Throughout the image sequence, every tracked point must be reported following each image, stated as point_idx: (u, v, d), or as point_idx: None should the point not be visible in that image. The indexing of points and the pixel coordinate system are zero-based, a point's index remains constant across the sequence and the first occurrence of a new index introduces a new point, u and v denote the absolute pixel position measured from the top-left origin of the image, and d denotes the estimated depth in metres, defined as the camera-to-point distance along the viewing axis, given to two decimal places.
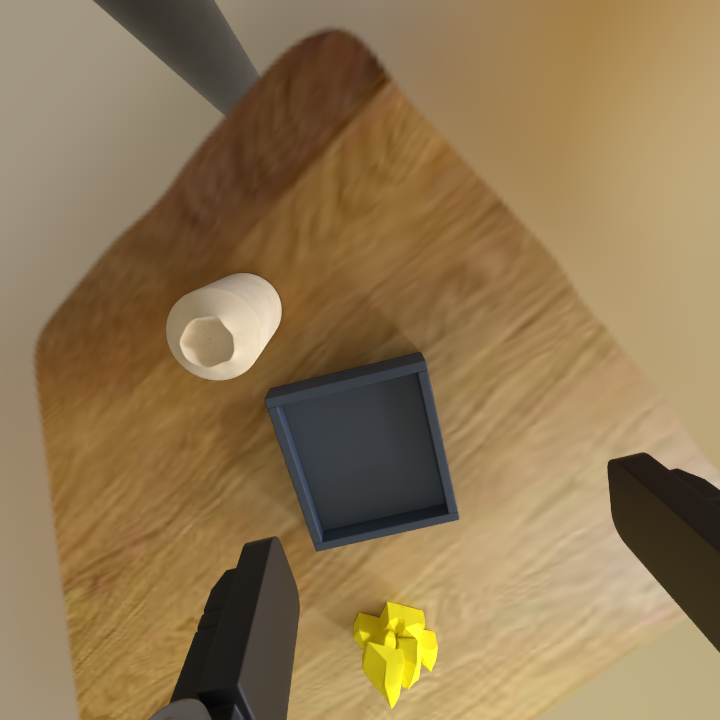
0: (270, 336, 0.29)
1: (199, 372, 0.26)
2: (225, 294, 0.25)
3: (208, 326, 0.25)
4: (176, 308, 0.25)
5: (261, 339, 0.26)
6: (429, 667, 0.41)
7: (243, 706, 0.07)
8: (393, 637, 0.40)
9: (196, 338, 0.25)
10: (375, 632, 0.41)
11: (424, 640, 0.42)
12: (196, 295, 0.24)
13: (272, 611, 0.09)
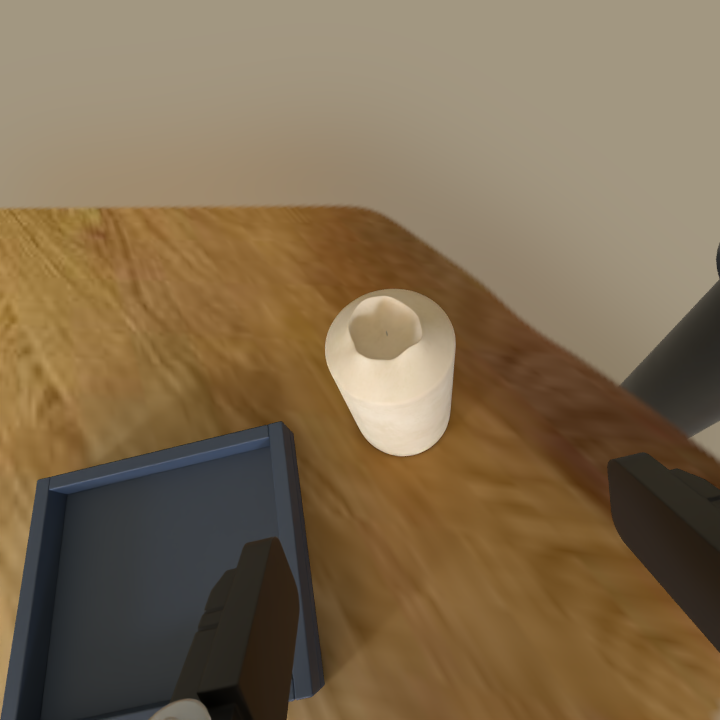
0: (373, 428, 0.21)
1: (339, 319, 0.19)
2: (447, 359, 0.18)
3: (404, 332, 0.18)
4: (428, 300, 0.19)
5: (381, 403, 0.17)
6: None
7: (243, 706, 0.07)
8: None
9: (388, 317, 0.18)
10: None
11: None
12: (445, 323, 0.18)
13: (272, 611, 0.09)
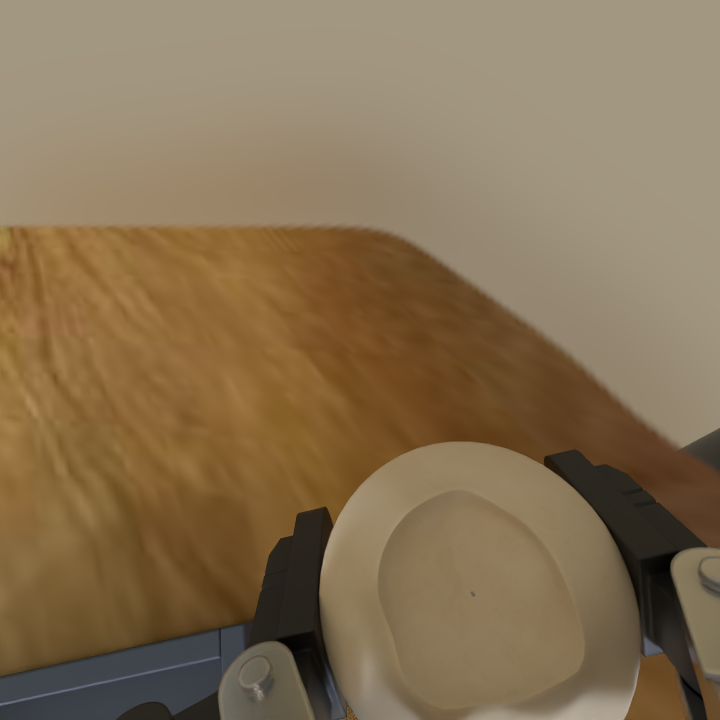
0: None
1: (353, 531, 0.08)
2: (632, 668, 0.07)
3: (515, 589, 0.07)
4: (557, 483, 0.08)
5: None
6: None
7: (317, 651, 0.08)
8: None
9: (470, 539, 0.08)
10: None
11: None
12: (612, 557, 0.07)
13: None
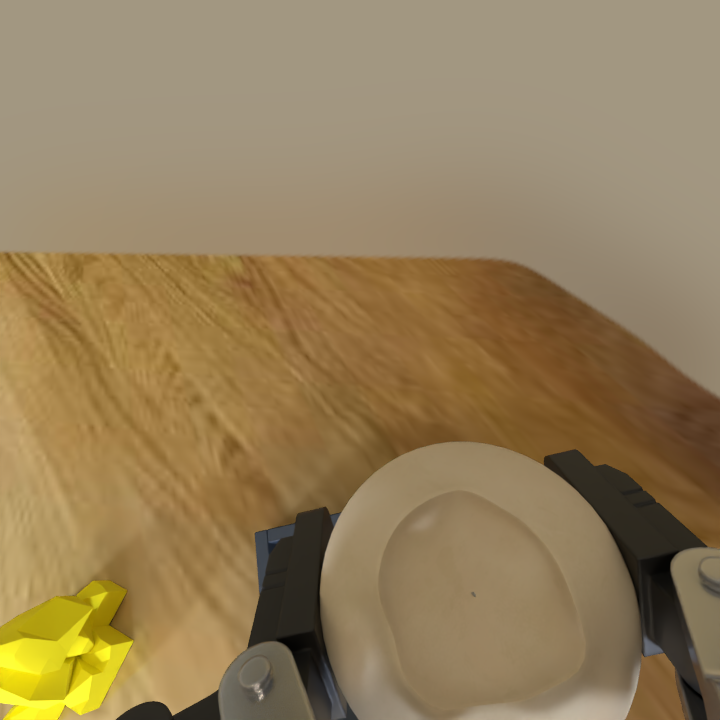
0: None
1: (354, 531, 0.08)
2: (632, 669, 0.07)
3: (515, 589, 0.07)
4: (557, 483, 0.08)
5: None
6: None
7: (317, 651, 0.08)
8: (82, 652, 0.25)
9: (471, 540, 0.08)
10: (94, 618, 0.27)
11: (49, 710, 0.26)
12: (613, 558, 0.07)
13: None
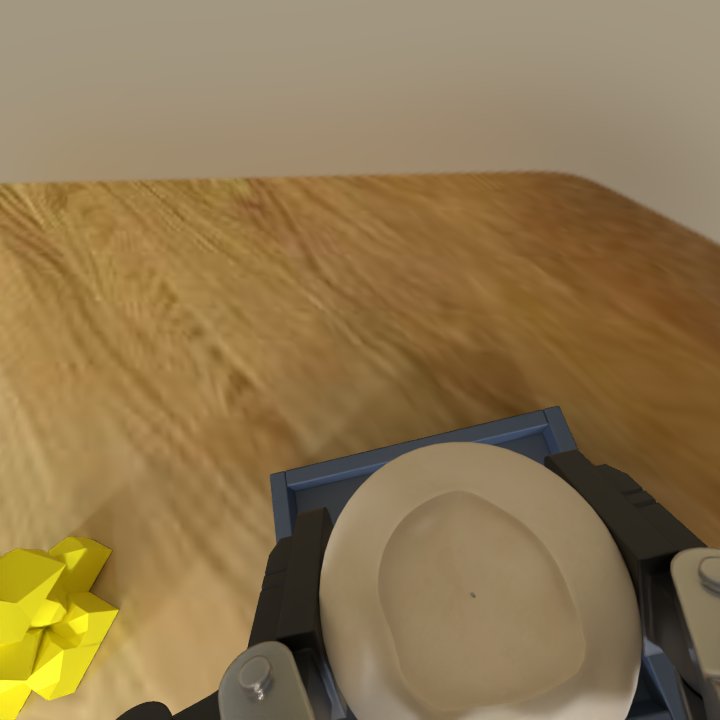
0: None
1: (353, 532, 0.08)
2: (632, 669, 0.07)
3: (515, 590, 0.07)
4: (557, 484, 0.08)
5: None
6: None
7: (317, 651, 0.08)
8: (51, 621, 0.20)
9: (470, 540, 0.08)
10: (69, 581, 0.22)
11: (9, 695, 0.20)
12: (613, 558, 0.07)
13: None
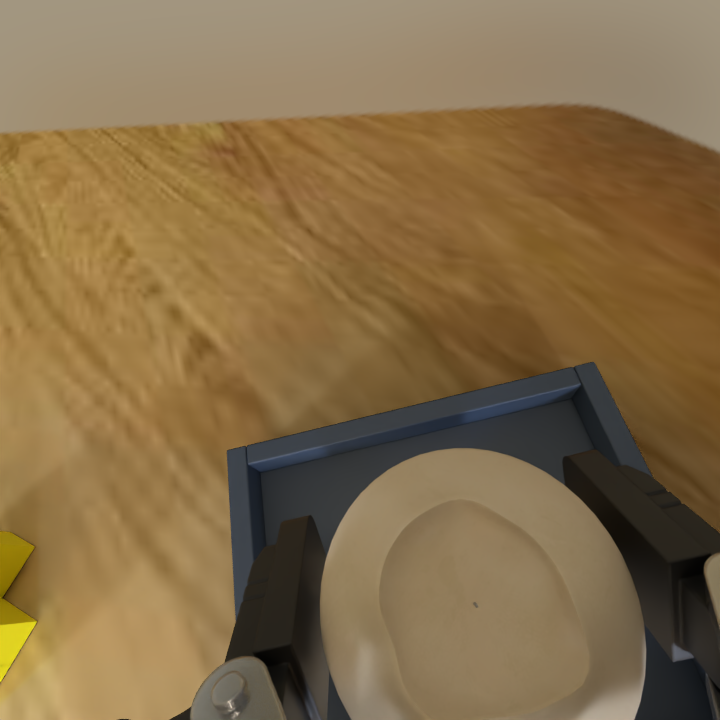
0: None
1: (354, 539, 0.08)
2: (636, 681, 0.07)
3: (518, 600, 0.07)
4: (560, 491, 0.08)
5: None
6: None
7: (295, 665, 0.07)
8: None
9: (473, 549, 0.07)
10: None
11: None
12: (616, 567, 0.07)
13: (312, 583, 0.09)
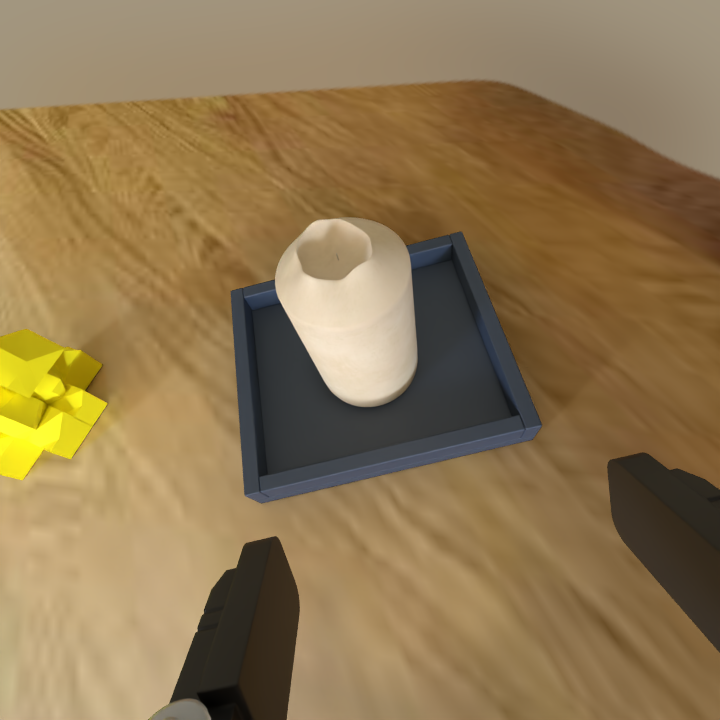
0: (331, 368, 0.20)
1: (290, 246, 0.18)
2: (401, 282, 0.17)
3: (356, 255, 0.17)
4: (383, 226, 0.18)
5: (330, 329, 0.16)
6: None
7: (243, 706, 0.07)
8: (53, 392, 0.25)
9: (340, 242, 0.17)
10: (67, 375, 0.27)
11: (19, 454, 0.25)
12: (400, 248, 0.17)
13: (272, 611, 0.09)
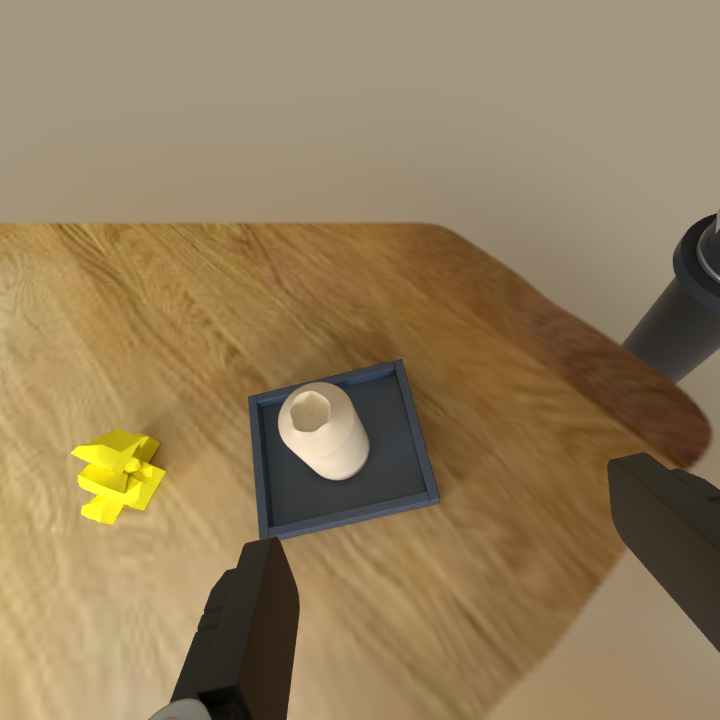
0: (311, 466, 0.33)
1: (286, 403, 0.31)
2: (347, 429, 0.30)
3: (323, 413, 0.30)
4: (340, 391, 0.31)
5: (308, 455, 0.30)
6: (86, 506, 0.37)
7: (243, 706, 0.07)
8: (134, 468, 0.39)
9: (314, 403, 0.31)
10: (140, 453, 0.40)
11: (111, 508, 0.39)
12: (348, 407, 0.31)
13: (272, 611, 0.09)
